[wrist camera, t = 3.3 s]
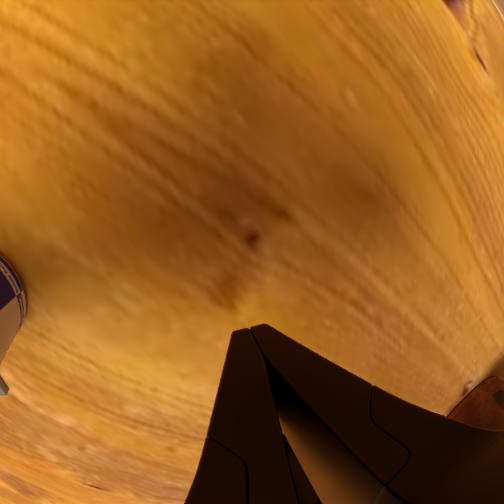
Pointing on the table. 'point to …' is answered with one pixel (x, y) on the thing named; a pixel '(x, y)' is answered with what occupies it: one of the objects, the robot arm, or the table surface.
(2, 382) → the mat
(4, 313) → the energy drink
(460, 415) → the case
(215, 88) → the table surface
